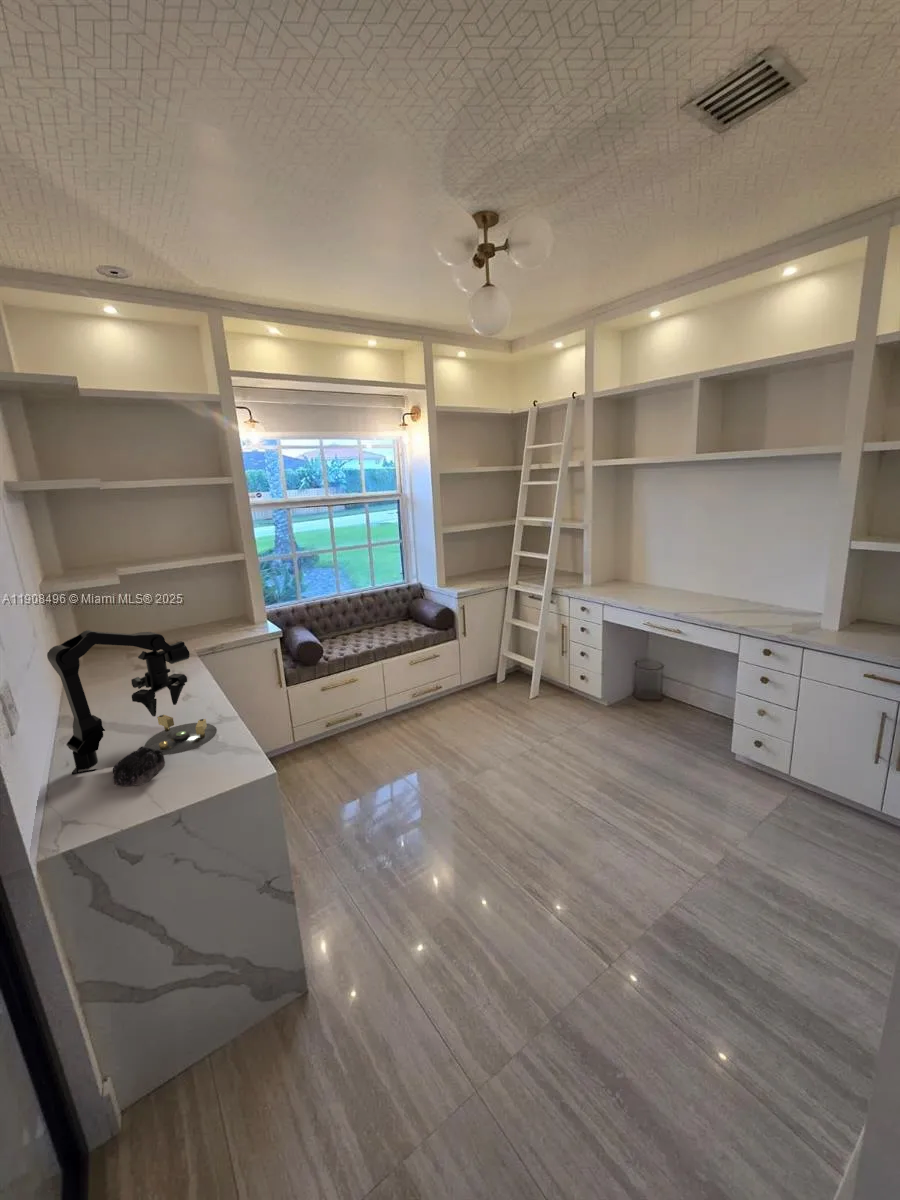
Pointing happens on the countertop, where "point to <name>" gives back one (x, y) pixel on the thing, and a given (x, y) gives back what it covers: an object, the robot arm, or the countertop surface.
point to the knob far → (165, 722)
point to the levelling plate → (180, 739)
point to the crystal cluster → (138, 767)
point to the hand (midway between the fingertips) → (164, 710)
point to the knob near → (201, 727)
